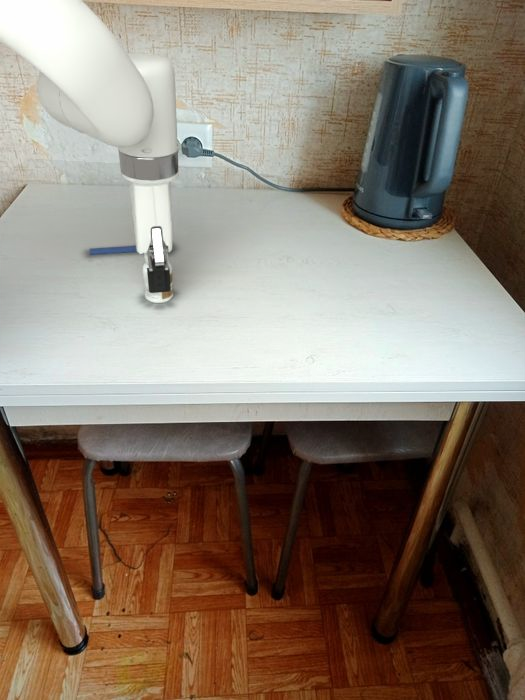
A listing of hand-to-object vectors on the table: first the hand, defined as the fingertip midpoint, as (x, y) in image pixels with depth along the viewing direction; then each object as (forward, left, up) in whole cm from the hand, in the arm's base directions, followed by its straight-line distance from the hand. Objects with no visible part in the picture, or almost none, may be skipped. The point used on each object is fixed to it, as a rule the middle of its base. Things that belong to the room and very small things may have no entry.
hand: (158, 281), depth 78 cm
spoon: (-11, +12, -3) cm, 16 cm away
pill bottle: (0, 0, -3) cm, 3 cm away
